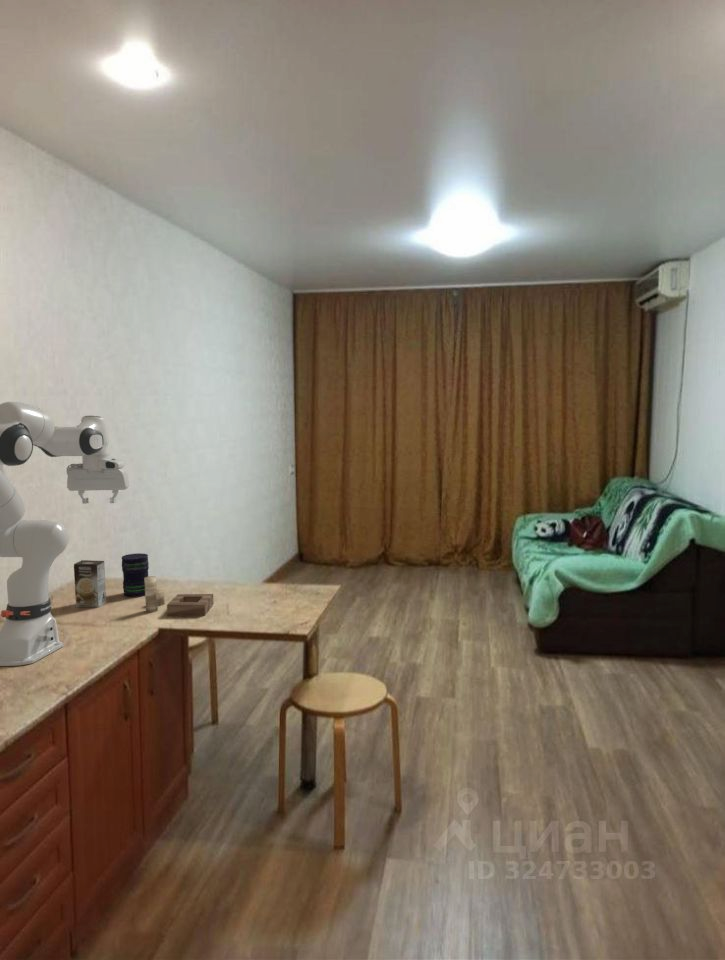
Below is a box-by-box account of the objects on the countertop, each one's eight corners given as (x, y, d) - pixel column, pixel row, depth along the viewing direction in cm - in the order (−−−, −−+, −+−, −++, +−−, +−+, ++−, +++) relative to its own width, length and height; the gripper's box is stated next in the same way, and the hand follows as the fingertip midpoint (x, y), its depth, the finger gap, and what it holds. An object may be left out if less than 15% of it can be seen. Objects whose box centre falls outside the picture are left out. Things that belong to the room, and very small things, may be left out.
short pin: (162, 605, 249) (162, 592, 249) (151, 605, 249) (151, 592, 249) (166, 602, 253) (165, 589, 253) (155, 602, 253) (154, 589, 253)
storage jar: (139, 598, 259) (137, 559, 258) (117, 596, 262) (115, 558, 261) (155, 591, 269) (153, 554, 267) (134, 589, 272) (132, 552, 270)
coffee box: (75, 607, 249) (72, 564, 247) (83, 602, 255) (81, 560, 254) (99, 607, 248) (96, 564, 246) (107, 602, 254) (104, 560, 253)
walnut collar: (204, 615, 237) (204, 604, 236) (167, 616, 237) (166, 604, 236) (213, 604, 249) (213, 593, 249) (178, 605, 250) (177, 594, 249)
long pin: (155, 612, 241) (154, 579, 240) (144, 612, 241) (142, 579, 240) (159, 608, 245) (157, 576, 244) (148, 609, 245) (146, 576, 244)
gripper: (62, 464, 231) (65, 505, 233) (122, 463, 231) (125, 504, 233) (70, 462, 238) (73, 502, 239) (129, 461, 238) (131, 501, 239)
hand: (99, 503), depth 236 cm, fingers open, 8 cm apart
